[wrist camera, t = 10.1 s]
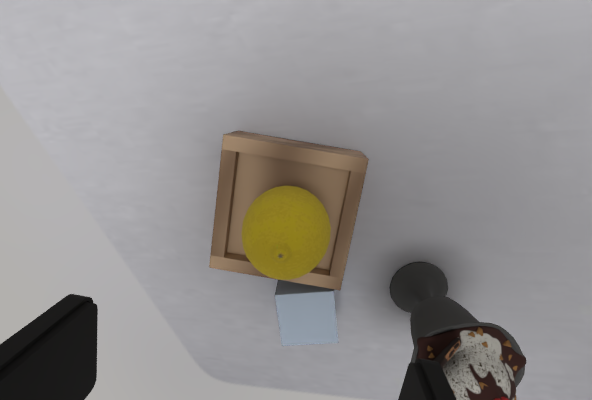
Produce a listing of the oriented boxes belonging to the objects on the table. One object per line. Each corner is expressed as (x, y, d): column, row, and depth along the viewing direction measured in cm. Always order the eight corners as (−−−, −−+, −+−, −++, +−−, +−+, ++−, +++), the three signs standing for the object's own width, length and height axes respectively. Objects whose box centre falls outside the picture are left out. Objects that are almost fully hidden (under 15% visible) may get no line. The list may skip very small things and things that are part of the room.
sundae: (461, 314, 31) (589, 495, 16) (385, 325, 32) (444, 508, 17) (454, 246, 29) (589, 379, 15) (375, 259, 30) (430, 398, 16)
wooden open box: (360, 151, 28) (368, 159, 23) (336, 264, 30) (340, 290, 26) (237, 130, 28) (223, 134, 24) (224, 245, 31) (209, 267, 26)
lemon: (269, 256, 27) (250, 314, 19) (243, 189, 26) (211, 223, 18) (338, 235, 26) (347, 287, 18) (314, 165, 25) (313, 189, 17)
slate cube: (331, 265, 31) (333, 291, 26) (335, 310, 32) (338, 342, 27) (280, 269, 31) (274, 295, 27) (286, 314, 32) (281, 345, 28)
